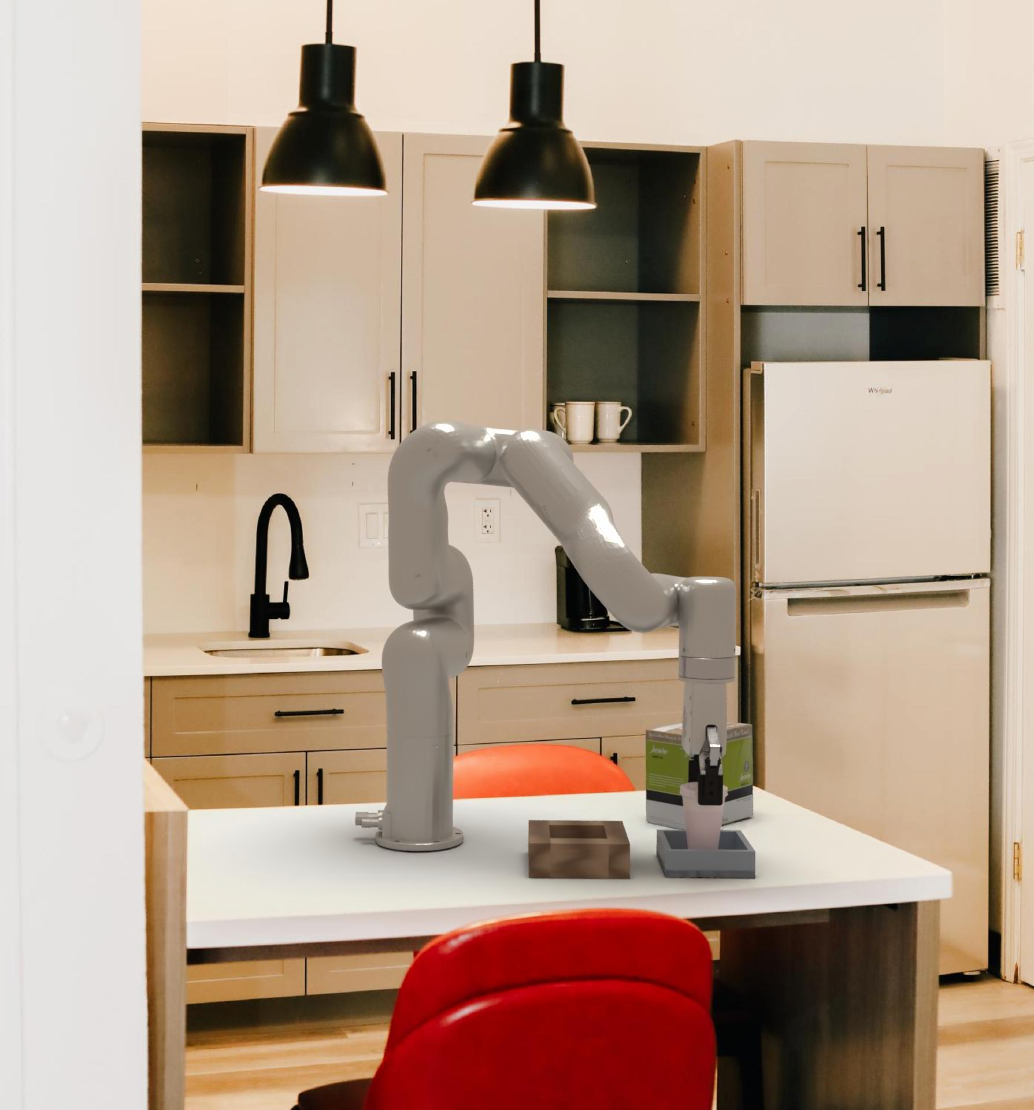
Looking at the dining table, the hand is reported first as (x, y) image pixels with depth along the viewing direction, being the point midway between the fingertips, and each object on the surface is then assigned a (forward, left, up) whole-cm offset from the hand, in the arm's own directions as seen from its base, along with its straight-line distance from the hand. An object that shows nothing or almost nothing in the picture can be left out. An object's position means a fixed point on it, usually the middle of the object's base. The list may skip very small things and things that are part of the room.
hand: (704, 797), depth 180 cm
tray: (0, 0, -9) cm, 9 cm away
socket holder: (-17, 0, -9) cm, 19 cm away
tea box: (+3, +27, -10) cm, 29 cm away
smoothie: (0, 0, -8) cm, 9 cm away
